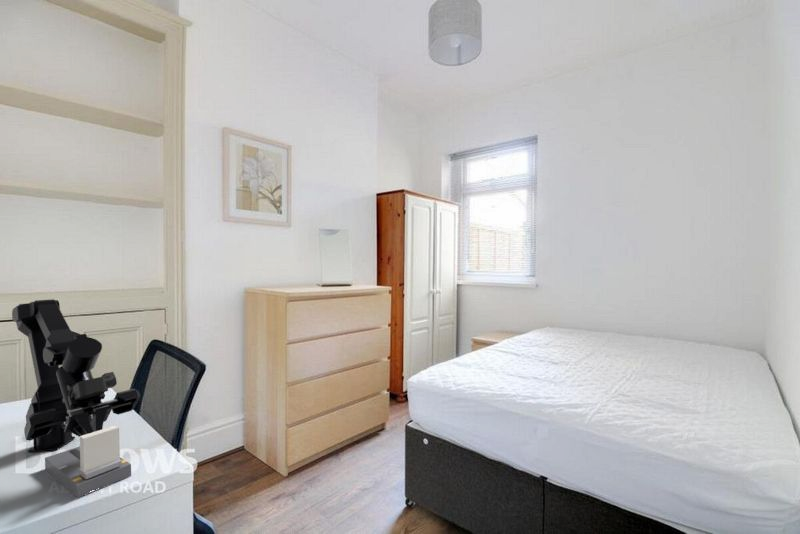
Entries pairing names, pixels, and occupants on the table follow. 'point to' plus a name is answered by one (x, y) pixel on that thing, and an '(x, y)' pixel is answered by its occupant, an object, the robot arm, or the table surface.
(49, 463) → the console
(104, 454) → the fader
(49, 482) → the table surface
